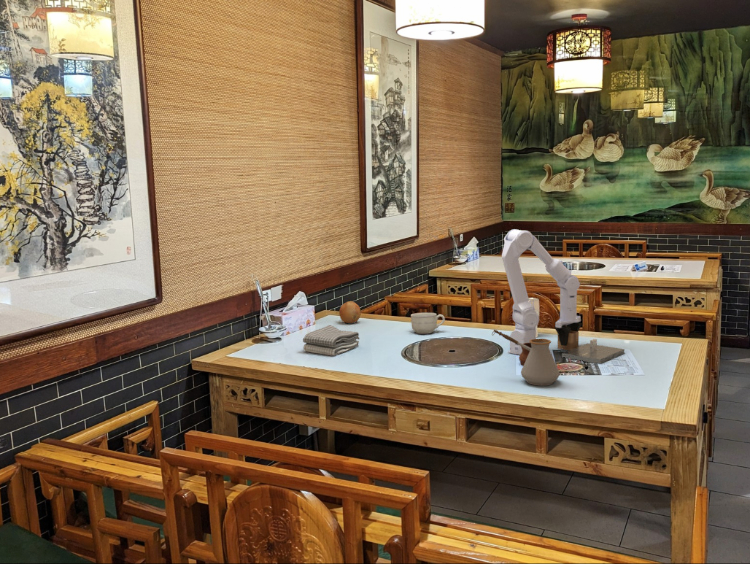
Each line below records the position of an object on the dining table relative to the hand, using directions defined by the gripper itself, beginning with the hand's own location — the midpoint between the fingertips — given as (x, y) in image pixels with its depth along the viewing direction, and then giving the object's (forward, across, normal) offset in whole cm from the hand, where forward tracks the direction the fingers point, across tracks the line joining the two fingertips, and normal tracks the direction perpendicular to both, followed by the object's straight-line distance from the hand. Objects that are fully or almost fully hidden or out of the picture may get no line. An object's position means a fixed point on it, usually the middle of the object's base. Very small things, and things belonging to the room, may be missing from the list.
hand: (568, 343), depth 245 cm
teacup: (+2, -11, +58) cm, 59 cm away
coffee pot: (+2, -44, -10) cm, 45 cm away
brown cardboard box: (+2, 0, 0) cm, 2 cm away
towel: (+2, -55, +68) cm, 87 cm away
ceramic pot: (+2, -27, -2) cm, 27 cm away
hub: (+2, -4, -12) cm, 13 cm away
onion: (+2, -17, +99) cm, 100 cm away
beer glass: (+2, +8, +21) cm, 23 cm away
